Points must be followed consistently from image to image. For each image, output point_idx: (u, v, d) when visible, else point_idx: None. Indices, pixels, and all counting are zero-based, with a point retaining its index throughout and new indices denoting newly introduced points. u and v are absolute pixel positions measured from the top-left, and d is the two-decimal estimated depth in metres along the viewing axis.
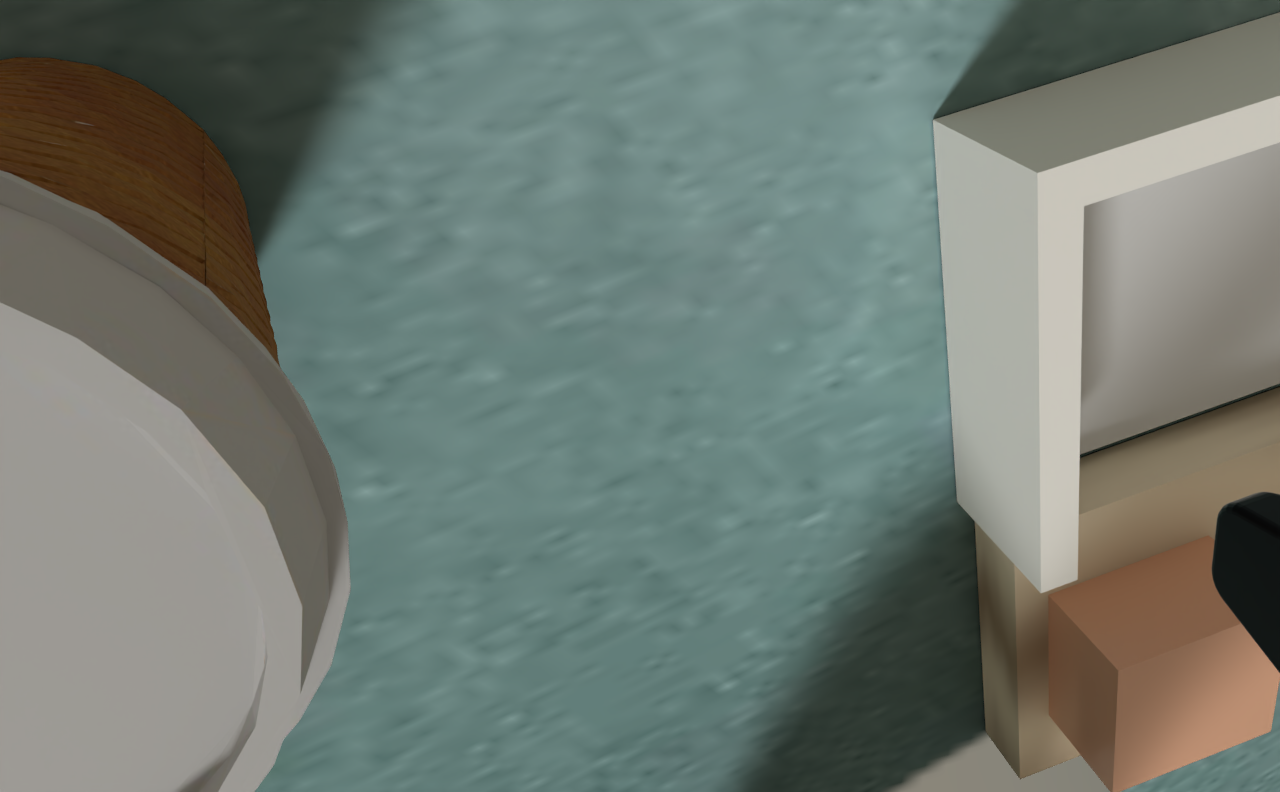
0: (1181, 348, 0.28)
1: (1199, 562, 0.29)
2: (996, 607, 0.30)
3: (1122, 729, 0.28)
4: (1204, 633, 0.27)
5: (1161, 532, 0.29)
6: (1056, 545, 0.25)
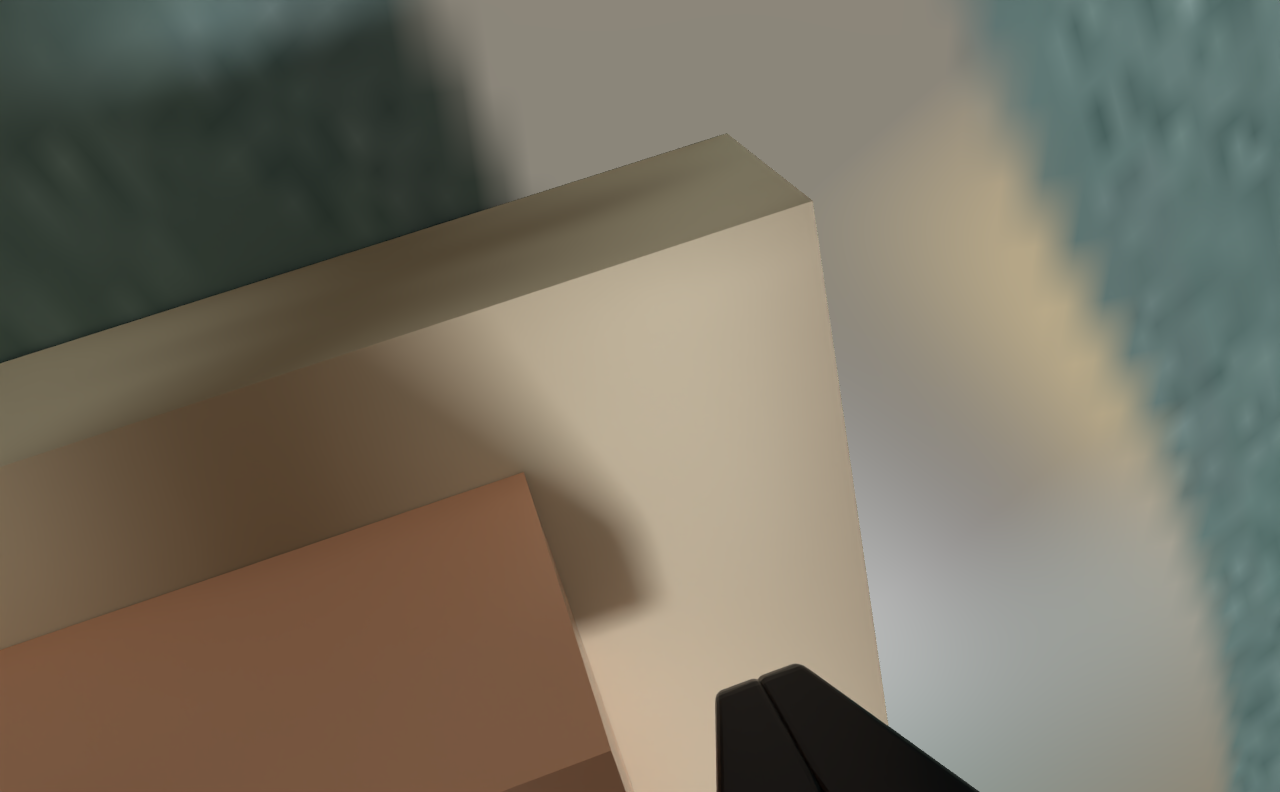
0: None
1: None
2: None
3: None
4: None
5: None
6: None
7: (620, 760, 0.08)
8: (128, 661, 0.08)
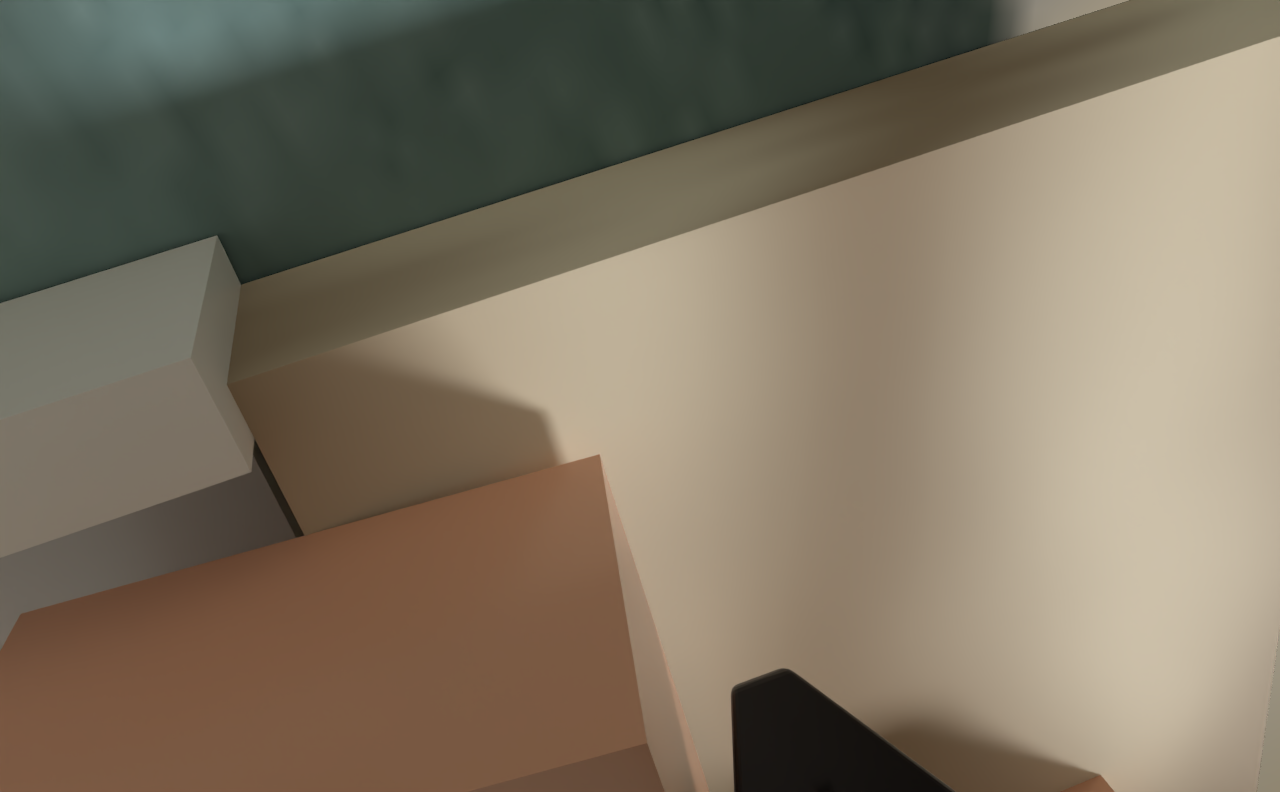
0: None
1: None
2: None
3: None
4: None
5: None
6: None
7: (679, 746, 0.08)
8: (218, 609, 0.08)
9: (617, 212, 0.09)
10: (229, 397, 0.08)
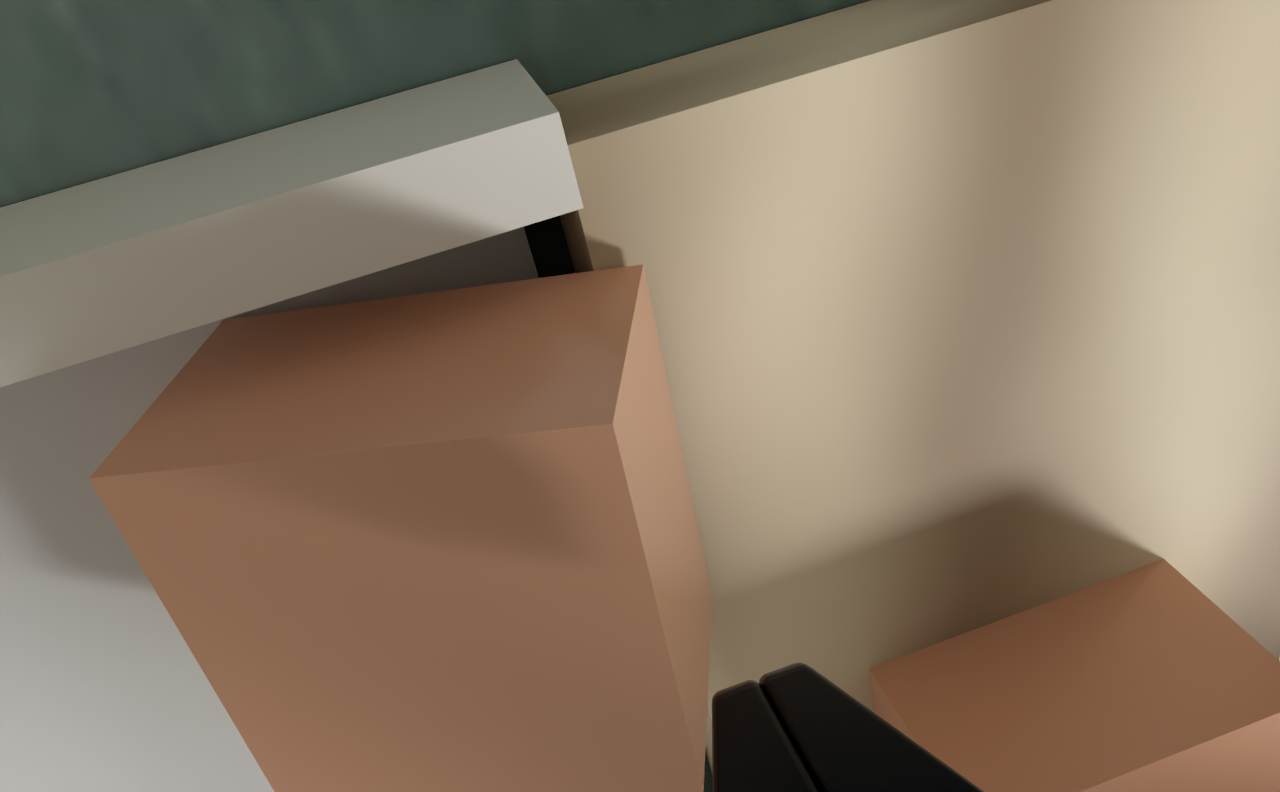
0: None
1: None
2: None
3: None
4: None
5: None
6: None
7: (666, 489, 0.11)
8: (355, 328, 0.11)
9: (830, 41, 0.12)
10: None
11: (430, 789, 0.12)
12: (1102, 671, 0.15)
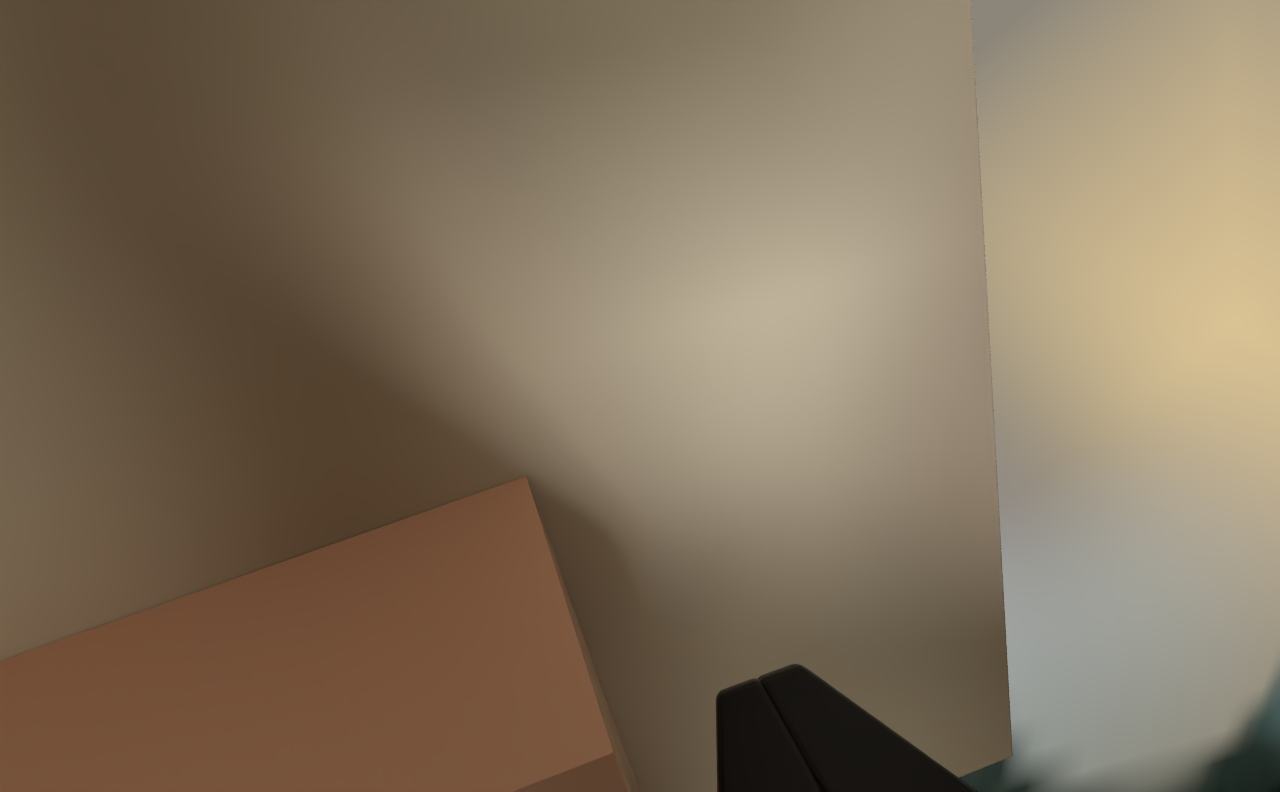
0: None
1: None
2: None
3: None
4: None
5: None
6: None
7: None
8: None
9: None
10: None
11: None
12: (268, 695, 0.07)
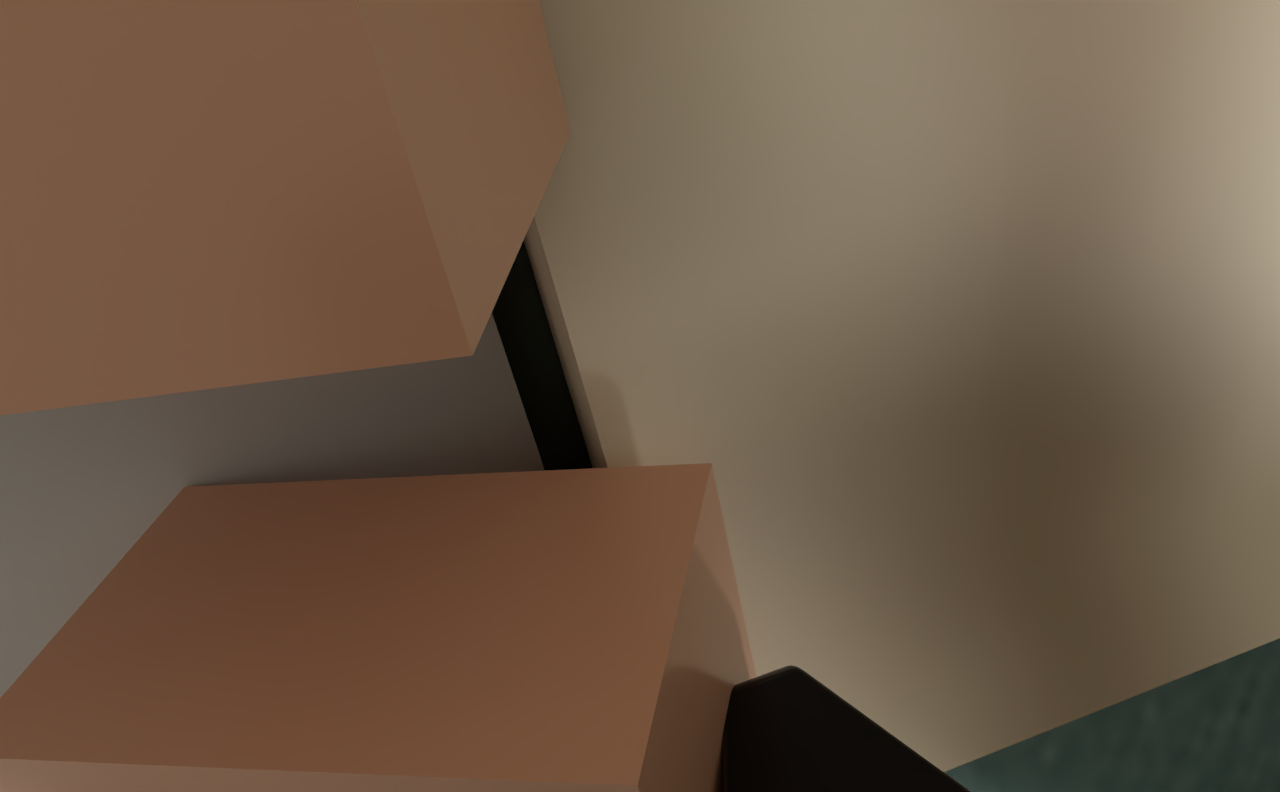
0: (268, 446, 0.10)
1: None
2: None
3: None
4: None
5: (814, 508, 0.10)
6: None
7: None
8: None
9: None
10: None
11: None
12: (404, 596, 0.08)
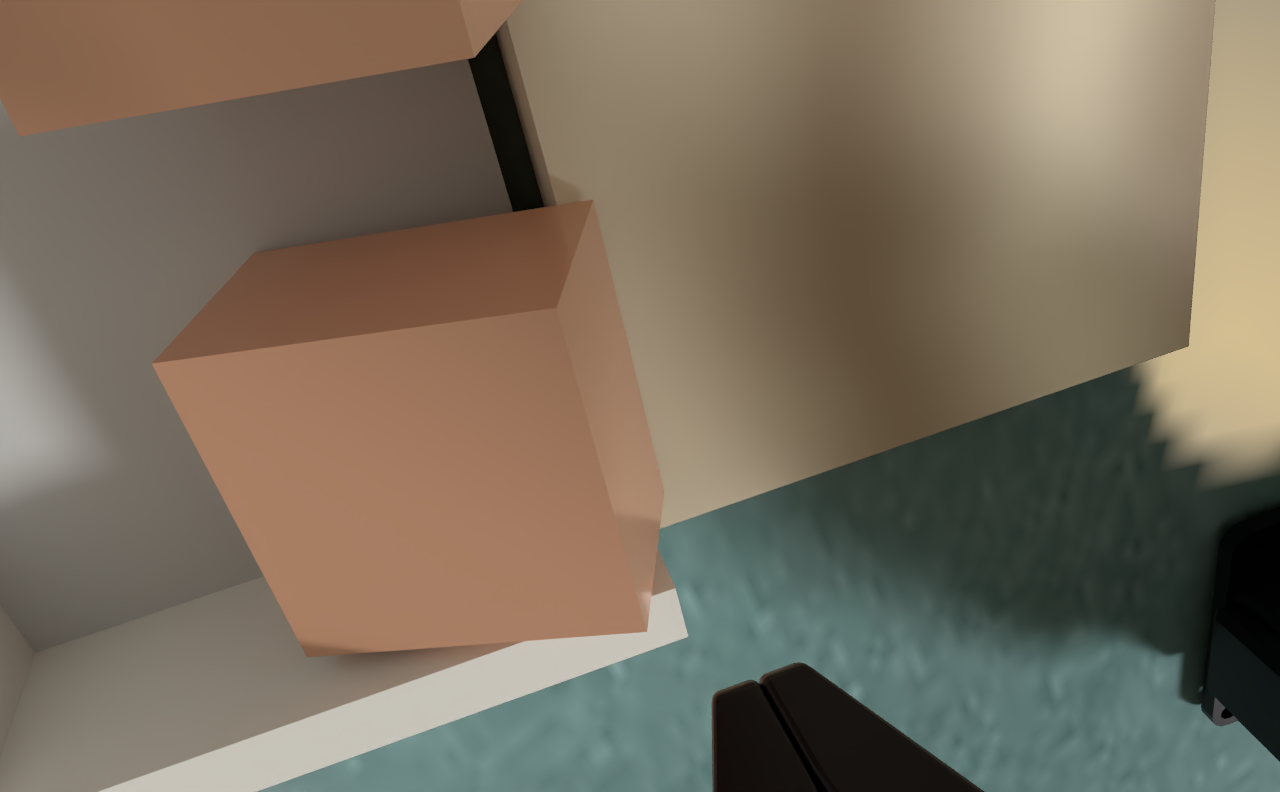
0: (341, 214, 0.15)
1: None
2: None
3: (459, 634, 0.14)
4: (239, 515, 0.14)
5: (696, 258, 0.15)
6: (594, 648, 0.15)
7: None
8: None
9: None
10: None
11: (171, 81, 0.10)
12: (415, 271, 0.13)
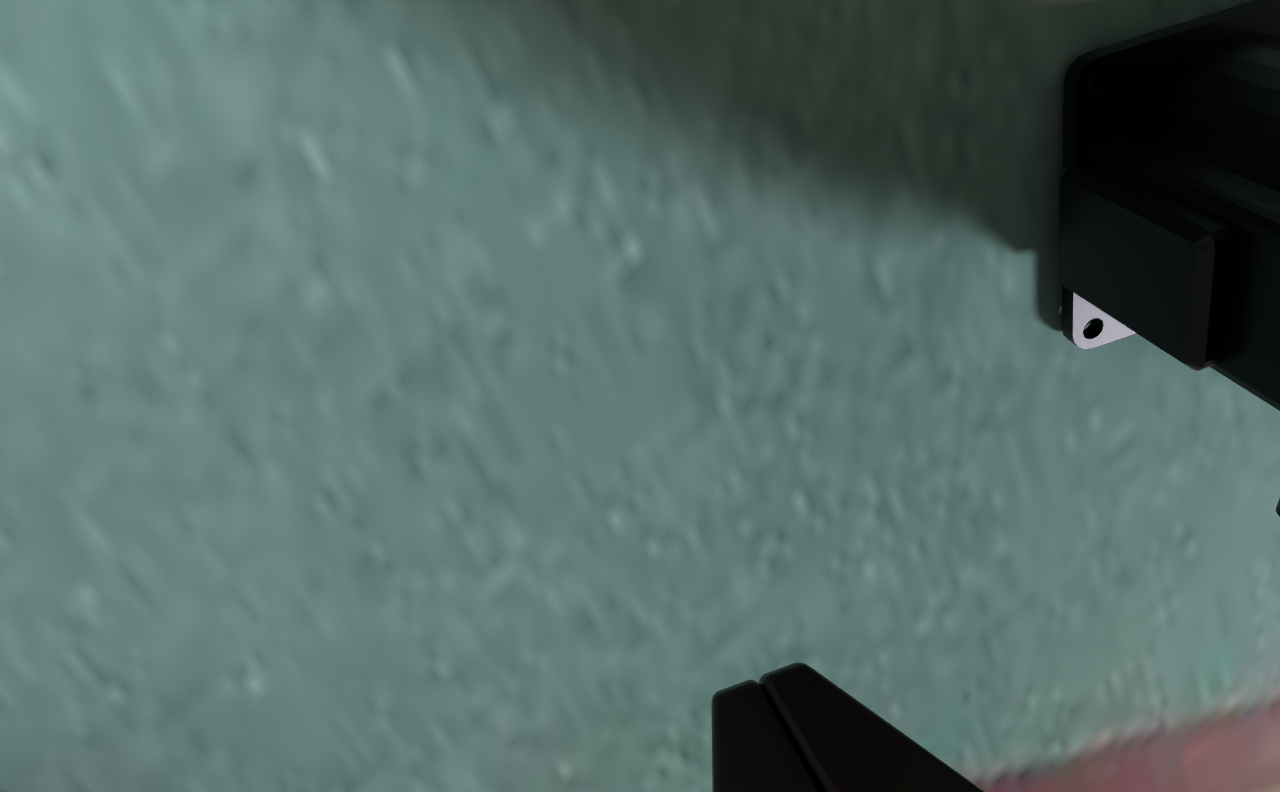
0: None
1: None
2: None
3: None
4: None
5: None
6: None
7: None
8: None
9: None
10: None
11: None
12: None
